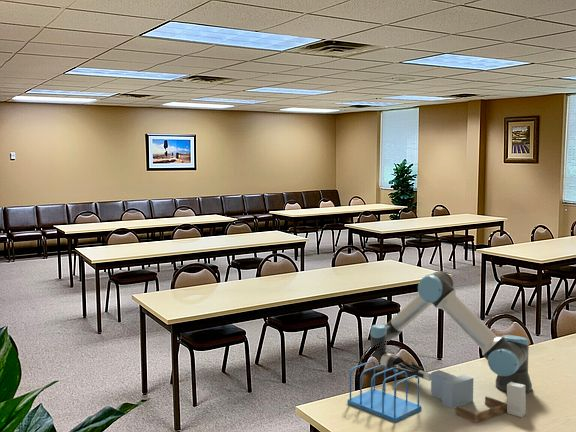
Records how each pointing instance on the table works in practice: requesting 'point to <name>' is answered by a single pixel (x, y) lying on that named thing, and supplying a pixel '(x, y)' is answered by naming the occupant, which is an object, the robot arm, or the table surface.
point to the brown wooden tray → (498, 409)
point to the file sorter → (384, 398)
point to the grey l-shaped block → (452, 388)
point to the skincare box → (516, 399)
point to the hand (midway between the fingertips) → (430, 377)
